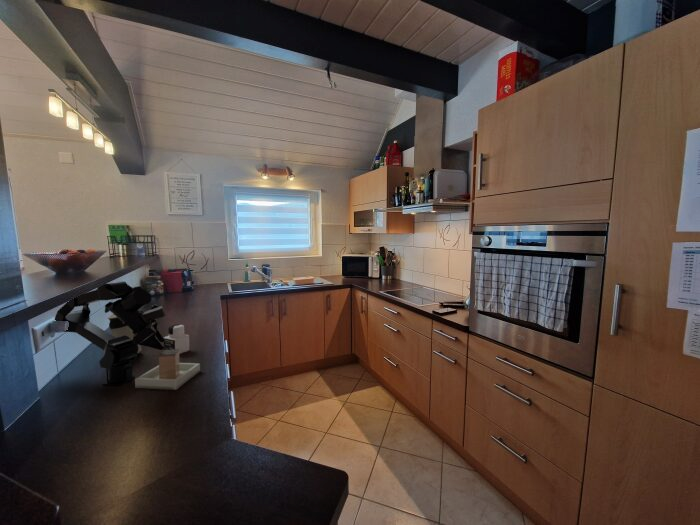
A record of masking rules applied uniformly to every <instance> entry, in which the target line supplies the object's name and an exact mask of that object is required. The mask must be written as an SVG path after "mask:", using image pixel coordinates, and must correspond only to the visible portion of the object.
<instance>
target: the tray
mask: <svg viewBox="0 0 700 525" xmlns="http://www.w3.org/2000/svg"><path fill="white" fill-rule="evenodd" d="M200 372H201V364H200V363H198V362H197V363H194V362H179V375H178V376H177V378H176V379H159V364H158V365H157V366H155V367H152V368H151V369H150V370H148V371H146V372H145V373H143V374H141V375H140V376H138V377H136V378H134V389H153V390H154V389H155V390H175V391H176V390H178V389H179V388H180V387H182V386H183V385H184V384H186V383H187V382H188V381H189V380H191V379H192V378H194V377H195V376H196V375H197V374H199V373H200Z"/></svg>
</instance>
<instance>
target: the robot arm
mask: <svg viewBox="0 0 700 525" xmlns="http://www.w3.org/2000/svg"><path fill="white" fill-rule="evenodd" d="M80 294H81V295H80ZM80 294H79V295H80V296H78V297H76V298H74V299H72V300H70V301H69V302H67V301H66V302H67V303H65V304H63V306H62V307H60V308H59V309H58V310H57V312H56V314H55V317H54V319H55V320H56V321H68V322H69V327H68V330H66V331H64V332H65V333H74V334H75V333H76V334H77V335H79V336H80V337H82V338H83V339H86V340H87V341H88V342H90V343H92V344H93V345H95V346H96V347H98V348H99V349H101V350H102V351H103V356H102V358H100V360H99V365H100V368H102V369H106V381H104V382H102V386H103V385H104V386H105V385H106V386H122V385H123V384H125V383H127V382H129V381H131V380H132V379H135V377H136V375H133V366H132V361H136V360H137V356H138V354H139V353H138V344H139V345H141V346H144V347H148V348H152V349H156V350H160V351H163V350H164V344H162V343H164V341H165V340H164V337H163V335H162V334H161V332H160V330H159V329H158V319H160V318H161V319H162V318H165V316H166V312H165V309H164V307H163V305H158V304H154V305H151V309H148V310H147V311H144V310H142V308H144V307H145V306H146V305H148V304H150V303H151V301H152V295H151V293H150V292H148V291H147V290H146V289H143V288H142V286H140V285H139V286H134V287H132V286H130V285H129V284H128V283H127V282H126V281H116V282H106V283H105V282H104V283H102V284H101V285H99V286H98V287H96V289H94V290H91V291H87V292H85V293H84V292H83V293H80ZM110 300H111V301H110ZM112 300H115V301H112ZM101 301H108V303H106V304H105V305H104V313H105V314H108V313H109V312H110V313H111V314H114V315H115V316H116V317H118V318H119V319H120V320H121V321H122V322H123V325H124V326H126V325H127V326H128V327H129V328H130V329H131V330H132V331H133V332H132V333H133V334H134V336H133V339H130V338H129V337H128V336H125V335H124V336H121V337H117V338H116V337H114V336H112V334H110V333H109V332H107V331H105V330H104V329H103V328H101V327H99V326H98V325H96V324H94V323H93V322H92V321H90V320H91V319H90V315H91V313H92V312H91V311H92V310H91V309H90V307H89V305H90V304H93V303H96V302H97V303H98V302H101ZM81 306H82V309H81V310H75V311H74V309H75V308H77V307H81Z"/></svg>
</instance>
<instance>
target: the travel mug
mask: <svg viewBox="0 0 700 525" xmlns="http://www.w3.org/2000/svg"><path fill="white" fill-rule="evenodd" d="M107 319H108V320H109V324H108V326H109V327H108V328H109V330H110V333H111V335H112V336H114V337H116V338H117V337H121V336H124V335H125V336H128V337H129V338H130V339H133V336H134V334H133V333H132V332H133V331H132V330H131V329H130V328H129V327H128V326H127V325H126V326H124V325H123V322H122V321H121V320H120V319H119V318H118V317H116V316H115V315H114V314H113V313H111V314H110V315H108V316H107ZM141 351H142V345H139V344H138V353H137V354H139V353H140V352H141Z"/></svg>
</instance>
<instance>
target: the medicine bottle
mask: <svg viewBox="0 0 700 525" xmlns="http://www.w3.org/2000/svg"><path fill="white" fill-rule="evenodd" d="M167 330H168V331H167V332H168V335H167V336H164V337H163V338H164V340H165V341H164V342H163V347H164V349H163V350H172V349H179V355H180V354H183V353H186V352H189V351H190V335H189V334H186V333H185V325H184V324H181V323H177V324H172V325H170V326H168V328H167Z"/></svg>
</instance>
